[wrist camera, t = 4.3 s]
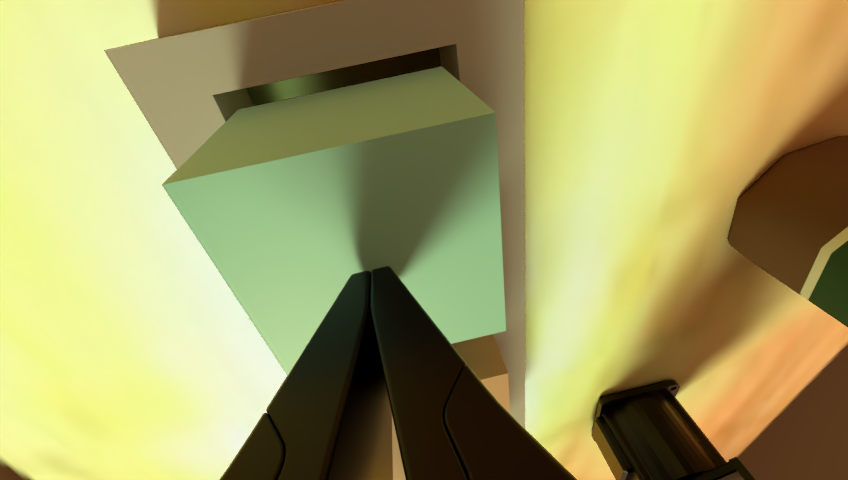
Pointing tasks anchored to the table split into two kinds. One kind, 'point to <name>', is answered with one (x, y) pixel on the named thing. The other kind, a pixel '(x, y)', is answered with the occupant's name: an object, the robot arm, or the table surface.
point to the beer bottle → (801, 224)
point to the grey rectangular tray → (337, 48)
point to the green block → (353, 204)
